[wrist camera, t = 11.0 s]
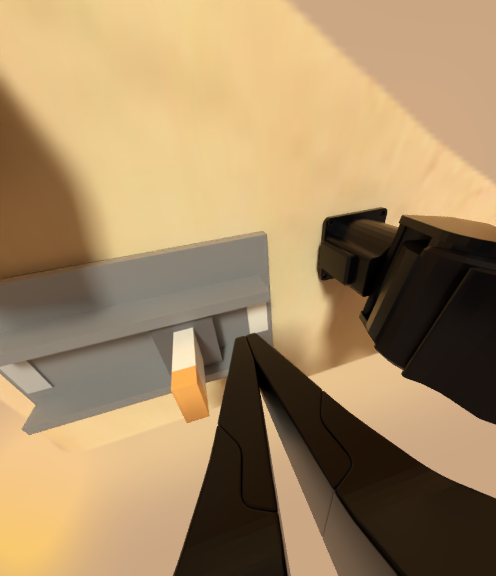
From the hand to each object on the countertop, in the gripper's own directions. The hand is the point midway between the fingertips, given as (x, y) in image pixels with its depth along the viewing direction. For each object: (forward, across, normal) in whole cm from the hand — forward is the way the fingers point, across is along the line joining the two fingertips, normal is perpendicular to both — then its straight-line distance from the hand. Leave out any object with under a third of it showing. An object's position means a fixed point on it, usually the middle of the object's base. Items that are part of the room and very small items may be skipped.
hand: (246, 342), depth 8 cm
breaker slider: (+10, +4, +7) cm, 14 cm away
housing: (+12, +8, +7) cm, 16 cm away
